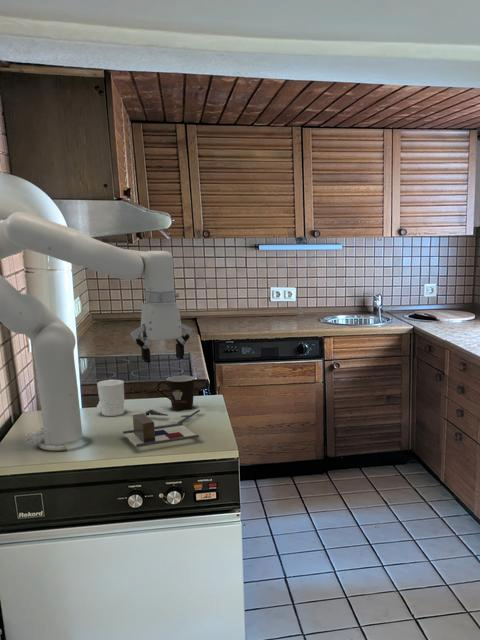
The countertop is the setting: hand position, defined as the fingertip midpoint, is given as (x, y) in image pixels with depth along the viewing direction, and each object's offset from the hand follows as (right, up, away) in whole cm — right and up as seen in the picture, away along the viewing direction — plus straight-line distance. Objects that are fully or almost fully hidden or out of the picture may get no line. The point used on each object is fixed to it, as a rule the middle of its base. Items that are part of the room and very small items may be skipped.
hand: (163, 360), depth 193 cm
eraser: (-5, -21, -1) cm, 22 cm away
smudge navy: (-2, -20, +3) cm, 21 cm away
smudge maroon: (+3, -21, +1) cm, 21 cm away
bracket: (-4, -17, +22) cm, 28 cm away
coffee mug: (-5, -13, +35) cm, 38 cm away
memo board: (-1, -22, +2) cm, 22 cm away
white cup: (-24, -15, +28) cm, 39 cm away
